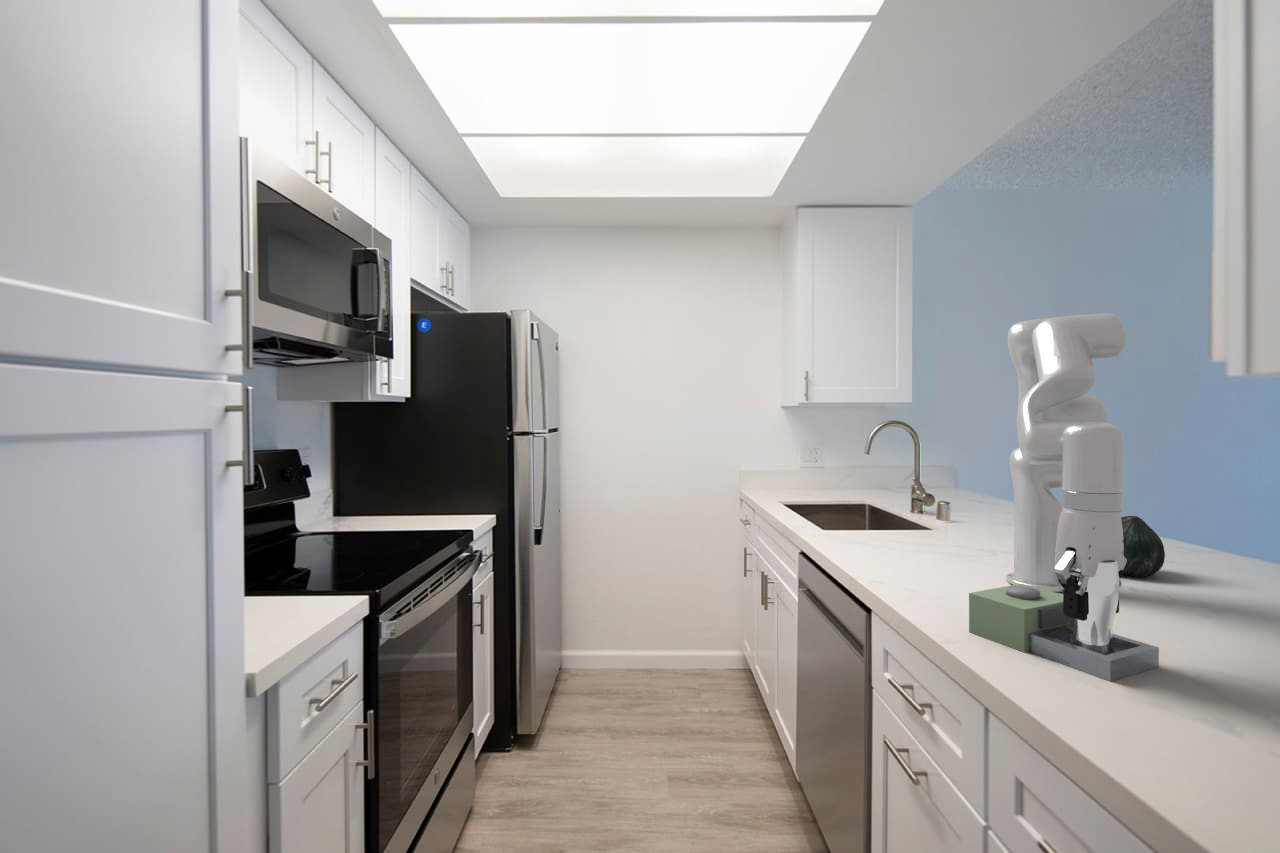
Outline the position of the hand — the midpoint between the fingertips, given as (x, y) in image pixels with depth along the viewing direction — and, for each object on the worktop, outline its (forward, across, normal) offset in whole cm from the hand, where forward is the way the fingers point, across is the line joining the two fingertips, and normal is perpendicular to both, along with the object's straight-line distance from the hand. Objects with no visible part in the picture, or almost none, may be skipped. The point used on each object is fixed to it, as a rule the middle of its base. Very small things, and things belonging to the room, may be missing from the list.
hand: (1091, 613), depth 94 cm
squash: (+8, -61, -28) cm, 67 cm away
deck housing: (+7, 0, -11) cm, 13 cm away
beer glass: (+6, 0, 0) cm, 6 cm away
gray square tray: (+7, 0, 0) cm, 7 cm away
